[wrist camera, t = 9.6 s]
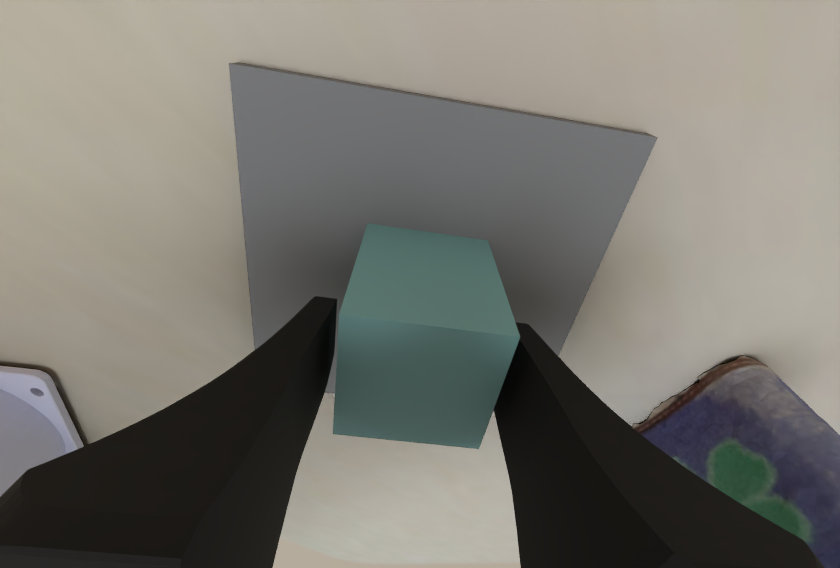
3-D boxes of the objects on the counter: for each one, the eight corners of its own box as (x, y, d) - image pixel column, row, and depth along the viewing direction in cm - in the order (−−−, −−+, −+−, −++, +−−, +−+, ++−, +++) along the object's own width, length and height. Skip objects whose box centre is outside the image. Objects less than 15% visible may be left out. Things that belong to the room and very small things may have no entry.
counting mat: (527, 404, 18) (530, 415, 17) (262, 374, 17) (258, 384, 16) (647, 133, 12) (657, 137, 11) (238, 62, 11) (228, 63, 10)
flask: (740, 345, 16) (1165, 746, 7) (780, 373, 17) (1207, 764, 8) (577, 459, 20) (707, 805, 11) (616, 477, 21) (768, 812, 12)
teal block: (462, 333, 15) (479, 448, 11) (359, 321, 15) (333, 434, 10) (487, 240, 13) (520, 336, 9) (367, 223, 13) (339, 314, 8)
